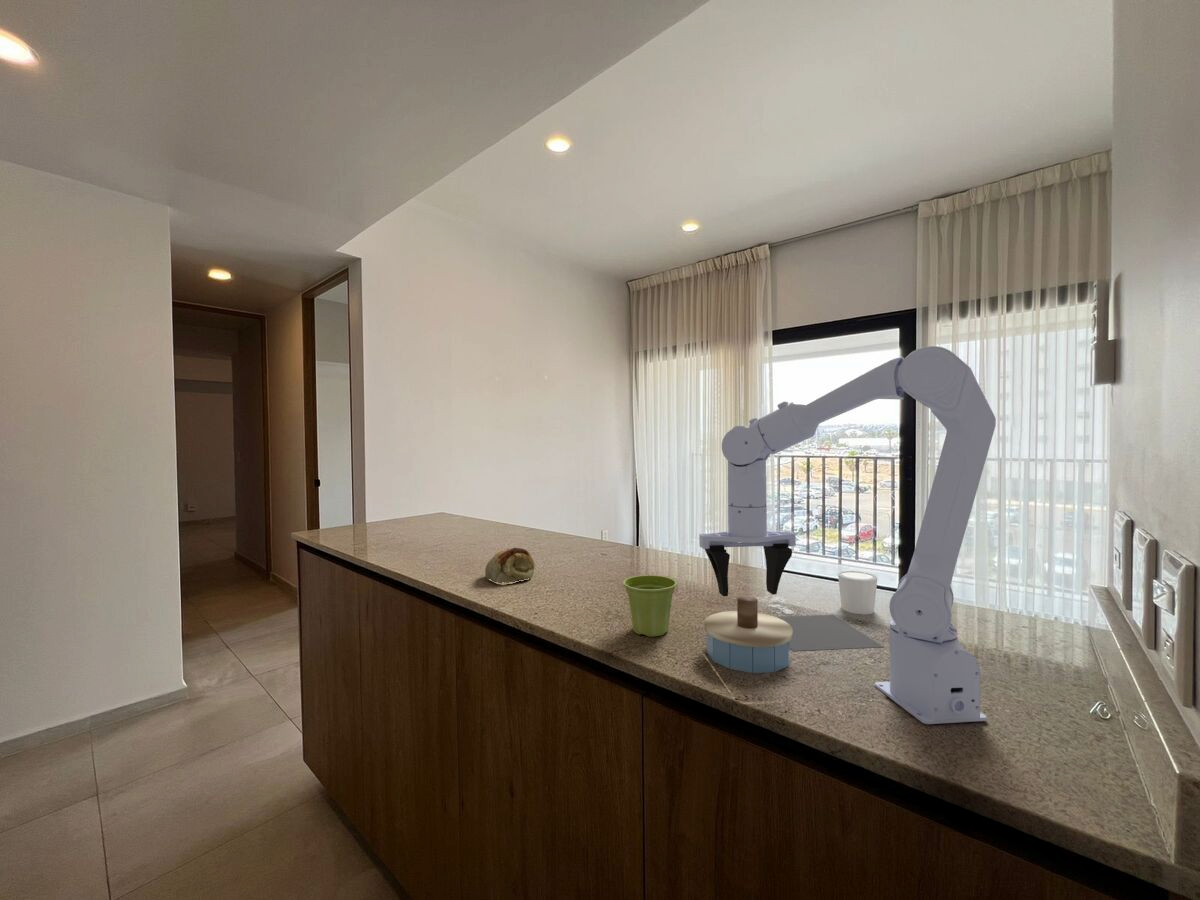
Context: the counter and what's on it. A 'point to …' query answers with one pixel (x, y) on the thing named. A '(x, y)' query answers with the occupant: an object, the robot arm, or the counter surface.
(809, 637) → the mat
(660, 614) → the plant pot
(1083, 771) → the counter surface
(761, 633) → the lid
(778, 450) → the robot arm
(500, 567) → the pastry
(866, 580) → the white cup
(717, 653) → the bowl
